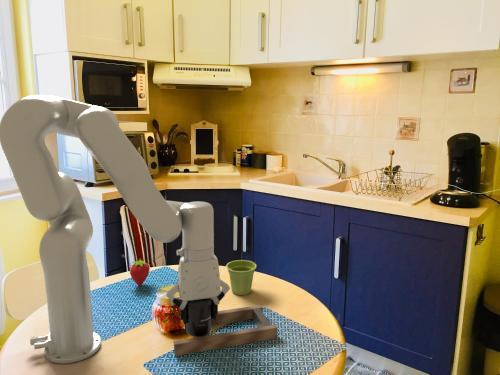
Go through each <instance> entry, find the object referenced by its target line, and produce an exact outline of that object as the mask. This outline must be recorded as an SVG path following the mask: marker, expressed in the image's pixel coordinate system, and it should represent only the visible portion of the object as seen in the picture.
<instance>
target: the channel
mask: <svg viewBox="0 0 500 375" xmlns="http://www.w3.org/2000/svg"><path fill="white" fill-rule="evenodd" d="M263 311H264V308H263V306H262V304H257V305H251V306H244V307H238V308H229V309H223V310H218V314H217V315H216V319H215V320H214V319H213V318H212V326H215V325H221V324H227V323H228V324H229V323H235V322H240V321H241V322H242V321H247V320H253V322H254V324H255V325H256V326H257V327H253V328H247V329H240V330H234V331H227V332H221V333H215V334H207V335H205V336H202V337H191V338H185V339H179V340H174V341H173V354H174V357H177V356H178V357H179V356H182V355H188V354H195V353H200V352H206V351H211V350H217V349H224V348H228V347H234V346H240V345H246V344H252V343H258V342H264V341H269V340H275V339H278V325H276V324H272V323H271V322H270V321H269V319H268V318H267V316H266V315H265V313H264V312H263Z"/></svg>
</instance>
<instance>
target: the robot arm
mask: <svg viewBox="0 0 500 375" xmlns="http://www.w3.org/2000/svg"><path fill="white" fill-rule="evenodd" d="M50 134H58V135H63V136H67V137H71V138H77V139H79V140H80V141H81V143H82V144H83V146H84V147H85V148H86V149H87V150H88V152H89V153H90V155H91V156H92V157H93V158H94V159H95V161H96V162H97V163H98V164H99V166H100V167H101V168H102V170H103V171H104V172H105V174H106V175H107V176H108V178H110V181H112V183H113V184H114V186H115V189H116V190H117V193H119V195H120V196H121V198H122V199H123V201H124V203H125V204H126V206H127V207H128V209H129V211H130V212H131V214H132V215H133V216H134V218H135V219H136V220H137V222H138V223H139V224H140V225H141V227H142V228H143V229H144V230H145V232H146V233H147V234H148V235H149V236H150V237H151V238H152V239H153V240H155V241H156V242H159V243H163V244H164V243H171V242H173V241H175V240H177V239H178V237H179V236H180V235H181V233H182V238H181V239H182V245H181V248H179V249H176V256H180V259H179V264H178V271H177V282H176V283H175V284H174V285H173V286H172V287H171V288H170V289H169V290H168V291H167V292H166V294H165V295H166V297H167V299H168V300H170V301H171V302H172V303H173V304H174V305H175V306H176V307H178V308H179V317H180V319H181V320H183V322H184V324H186V323H187V309H186V307H185V306H186V304H187V302H188V301H192V300H199V299H207V298H212V318H213V319H214V320H215V319H216V315H217V314H218V311H219V304H220V302H221V301H222V300H223V298H224V297H225V295H226V294H228V292H229V291H230V290H231V286H230V285H229V284H228V283H227V282H225V281H223V279H221V277H220V266H219V260H218V257H217V256H216V255H215V253H214V252H215V250H214V248H215V245H214V241H215V239H214V236H215V233H214V231H215V230H214V229H215V228H214V223H215V222H214V221H215V220H214V215H215V214H214V208H213V205H212V204H211V203H209V202H207V201H198V200H197V201H190V202H183V201H175V200H174V201H173V200H166V199H165V198H164V196H163V195H162V193H161V192H160V190H159V189H158V187H157V185H156V184H155V182H154V180H153V178H152V176H151V173H150V170H149V167H148V165H147V163H146V161H145V159H144V157H143V156H142V155H141V154H140V153H139V151H138V150H137V149H136V147H135V146H134V144H133V143H132V142H131V141H130V139H129V138H128V137H127V135H126V134H125V133H124V131H123V129H122V128H121V127H120V121H119V119H118V117H117V115H116V114H115V113H114V112H113V111H112V110H110V109H108V108H106V107H103V106H98V105H94V104H93V105H92V104H89V103H84V102H82V101H81V102H80V101H76V100H72V99H67V98H64V97H59V96H55V95H50V94H48V95H44V94H35V95H28V96H25V97H22V98H20V99H19V100H17V101H15V102H14V103H13V104H12V105H11V106H9V107H8V109H7V110H6V111H5V113H4V114H3V115H2V117H1V120H0V145H1V149H2V151H3V153H4V156H5V157H6V161H7V164H8V165H9V167H10V170H11V172H12V175H13V178H14V181H15V183H16V185H17V187H18V189H19V190H18V191H19V193H20V194H21V197H22V199H23V202H24V205H25V207H26V209H27V211H28V213H29V214H30V215H31V216H32V217H34V219H37V220H38V221H43V222H48V224H49V225H50V227H48V229H47V230H46V231H45V232H44V233H43V236H42V238H41V240H40V242H39V246H38V247H39V248H38V249H39V250H38V251H39V259H40V262H41V267H42V270H43V277H44V286H45V294H46V304H47V315H48V323H49V326H48V328H49V332H48V333H45V335H35V336H31V337H29V338H30V339H29V344H30V346H34V347H33V348H34V350H40V349H43V348H44V357H45V358H46V359H47V361H49V362H52V363H56V364H71V363H76V362H77V363H78V362H80V361H83V360H86V359H88V358H90V357H91V356H92V355H94V354H95V353H97V351H98V350H99V349H100V347H101V344H102V342H101V340H102V339H101V335H99V334H98V333H96V332H95V331H94V324H93V322H94V320H93V309H92V296H91V295H92V292H91V283H90V282H91V280H90V271H89V265H88V259H87V249H88V247H89V244H90V242H91V240H92V239H93V235H94V226H93V223H92V220H91V217H90V214H89V212H88V210H87V206H86V204H85V202H84V199H83V196H82V194H81V192H80V188H79V187H78V185H77V183H76V182H75V180H74V179H73V178H72V177H71V176H70V175H68V174H66V173H64V172H61V171H58V169H57V166H56V163H55V160H54V158H53V155H52V153H51V152H50V149H49V148H48V147H47V145H46V141H45V138H46V136H47V135H50ZM177 293H178V296H179V298H178V296H175V295H176V294H177Z"/></svg>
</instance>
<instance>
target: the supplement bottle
mask: <svg viewBox="0 0 500 375" xmlns="http://www.w3.org/2000/svg"><path fill="white" fill-rule="evenodd" d="M185 307H186V309H187V323H186V324H185V329H184V330H185V332H186V334H187V335H188V336H191V337H193V338H196V337H202V336H208V335H210V333H211V332H212V329H213V325H212V298H207V299H199V300H192V301H188V302H187V304H186V306H185Z"/></svg>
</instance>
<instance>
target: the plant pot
mask: <svg viewBox="0 0 500 375" xmlns="http://www.w3.org/2000/svg"><path fill="white" fill-rule="evenodd" d="M225 267H226V269H227V272H228V275H229V281H230V290H231V293H232V294H235V295H237V296H245V295H249V293H251V292H252V286H253V279H254V273H255V272H256V271H255V270H256V269H257V264H256V263H255V262H254V261H251V260H245V259H244V260H243V259H239V260H232V261H230V262H227V264H226V265H225Z"/></svg>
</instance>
